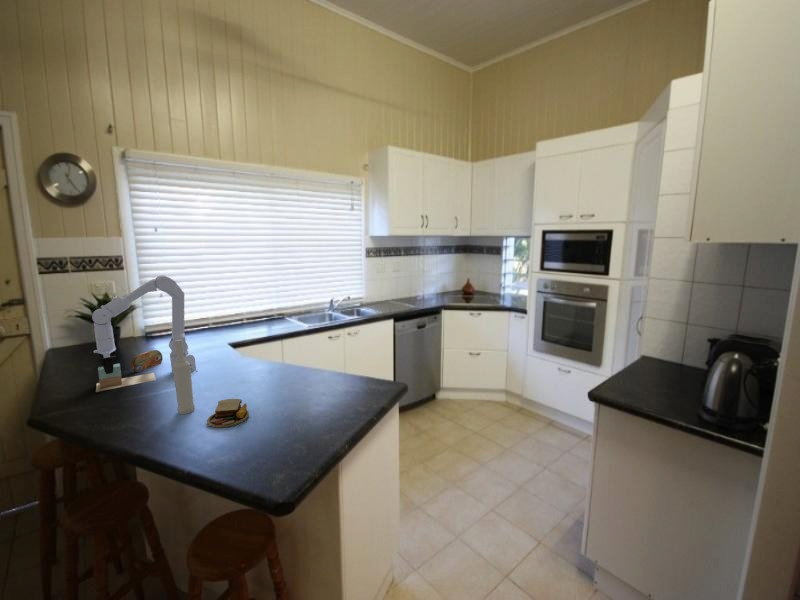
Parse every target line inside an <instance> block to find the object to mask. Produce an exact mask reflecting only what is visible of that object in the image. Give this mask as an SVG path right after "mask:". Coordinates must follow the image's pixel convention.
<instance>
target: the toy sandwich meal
mask: <svg viewBox="0 0 800 600" xmlns="http://www.w3.org/2000/svg"><path fill="white" fill-rule="evenodd" d="M242 402H243V401H242V399H240V398H227V399H221V400H219V401H218V402H217V406H216V408H215V410H214V413H213V414H211V415H210V416H209V417H208V418H207V419H206V424H208V426H210V427H213V428H217V429H223V428H230V427H234V426H236V425H238V424H241V423H243V422H244V421H246V419H248V417H249V416H250V412H249V411H248V410H247V403H243V405H242Z"/></svg>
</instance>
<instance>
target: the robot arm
mask: <svg viewBox="0 0 800 600" xmlns="http://www.w3.org/2000/svg"><path fill="white" fill-rule="evenodd" d="M158 290H159V291H161V292H163V293H166V294H167V295H168V296H169V297H171V330H172V331H171V335H170V337H171V339H170V341H169V343H168V347H169V349H170V350H171V351H170V353H169V358H170V359H169V360H170V366H171V373H172V374H173V367H172V366H173V365H174V364H175V363H176V361H177V352H176V345H175V341H176V340H182V343H183V354H184V359H185V361H187V362H189V363H190V368H191V373H192V372H194V371H195V372H198V371H199V370H198V369H197V368H196V367H197V366H196V358H195V356H194V355H193V354H191V353H190V352H189V350H188V349H189V346H188V343H187V342H186V341H187V340H186V334H185V292H184V291H183V290H182V288H181V287H180V285H179V284H178V283H177V282H176V281H175V280H174V279H172V278H171V277H169V276H166V275H159V276H156V277H155V278H152V279H150V280H148V281H146V282H145V283H143V284H142V285H140V286H139V287H137V288H136V289H134V290H133V291H131V292H130V293H128V294H127V295H125V296H117V297H115V296H114V297H113V298H112V299H111V301H109V302H108V303H107V304H105V305H103V304H102V305H101V306H100V308H98V309H96V310H95V311H93V312H92V316H91V317H92V318H91V319H92V321H93V327H94V328H93V330H94V337H95V343H96V349H95V350H93V353H94V354H98V356H99V357H97V359H98V361H99V362H100V363H101V365H102V366H103V368H104V370H105V373H106V374H110V373H113V365H114V364H115V361H116V357H117V355H116V352H117V351H116V350H117V347H116V345H115V337H114V330H113V326H112V322H111V321H112V318H116V317H117V316H119V315H120V314H121V313H124V311H126V310H128V309H129V308H130V306H131V303H133V302H134V301H136V300H138V299H139V298H141V297H143V296H144V295H146V294H147V293H152V292H158Z"/></svg>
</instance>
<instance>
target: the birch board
mask: <svg viewBox="0 0 800 600" xmlns="http://www.w3.org/2000/svg"><path fill="white" fill-rule="evenodd" d="M121 379H122V385H118V386H113V387H108V388H103V389H100V383H99V382H97V383H96V388H95V392H96V393H99V392H103V391H108V390H113V389H118V388H124V387H127V386H133V385H137V384H143V383H148V382H153V381H157V378H156V375H155V372H149V373H145V374H139V375H134V376H129V377H123V378H121Z"/></svg>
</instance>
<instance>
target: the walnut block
mask: <svg viewBox="0 0 800 600" xmlns="http://www.w3.org/2000/svg"><path fill="white" fill-rule="evenodd" d="M122 379H123V378H122V375H121V376H117V377H112V378H106V379H101V380H99V379H98V383H100V389H103V388H108V387H113V386H118V385H122Z"/></svg>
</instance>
